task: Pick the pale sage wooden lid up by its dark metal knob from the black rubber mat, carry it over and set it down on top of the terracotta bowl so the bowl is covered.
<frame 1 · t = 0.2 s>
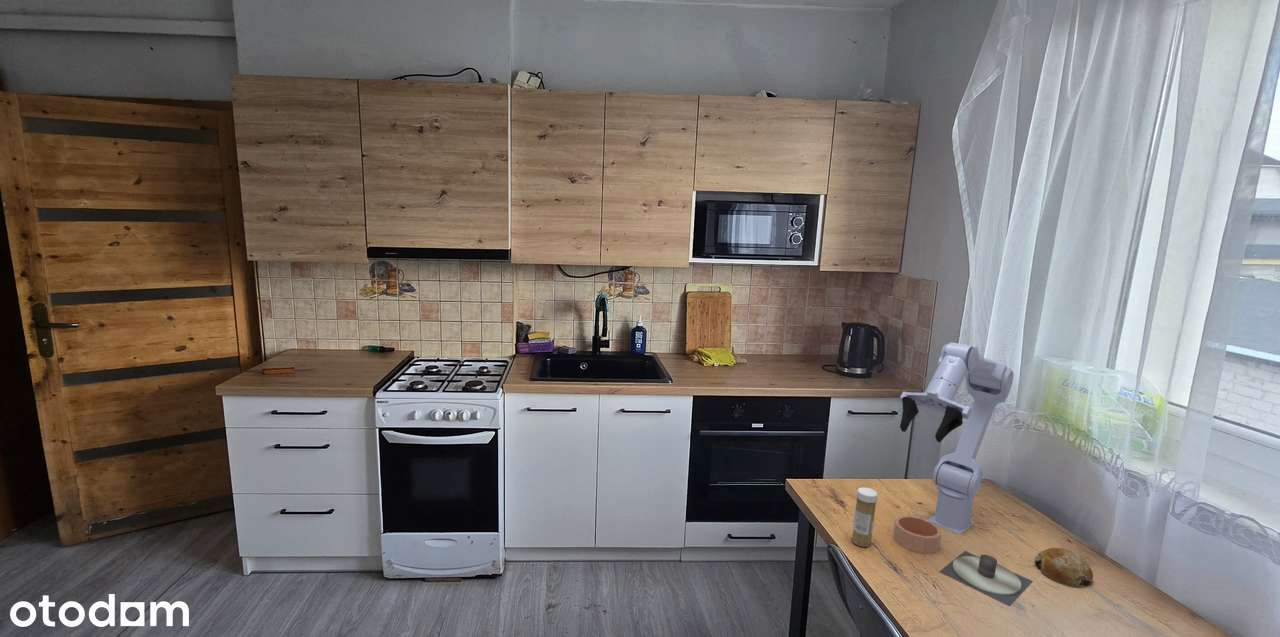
hand: (919, 434, 125), 31 cm above the table, tool tilted 45°, fingers open, 7 cm apart
bowl: (915, 543, 139), on the table
lid: (985, 576, 126), resting on mat
bread roll: (1060, 576, 129), on the table
mat: (985, 578, 126), on the table
sprinkles bottle: (861, 543, 138), on the table
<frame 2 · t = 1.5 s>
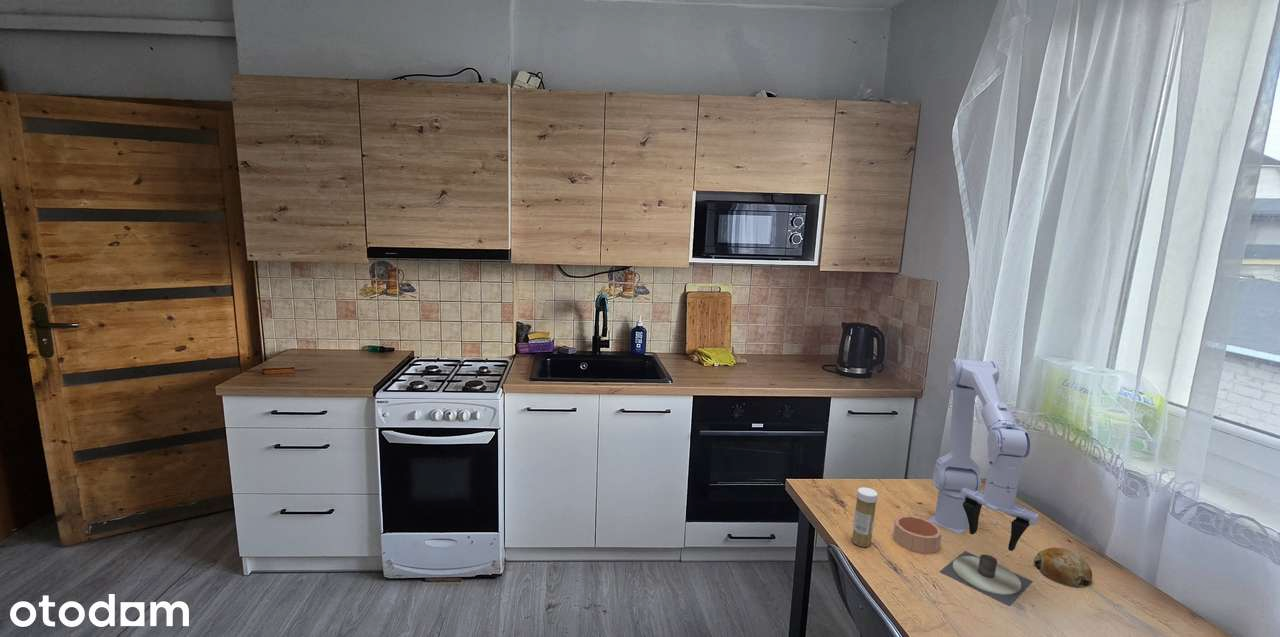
hand: (991, 540, 124), 9 cm above the table, tool pointing down, fingers open, 7 cm apart
nothing on the table moved.
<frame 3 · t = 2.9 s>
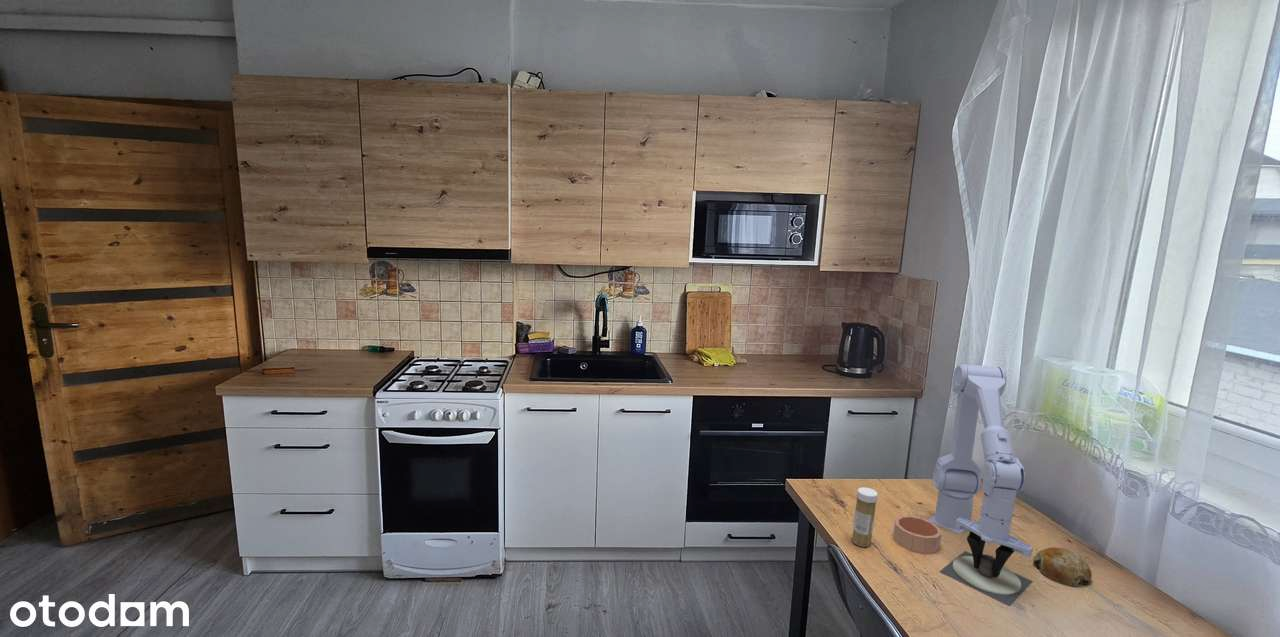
hand: (986, 570, 126), 2 cm above the table, tool pointing down, fingers closed on lid, 3 cm apart
lid: (985, 576, 126), resting on mat, touching gripper
everything else where it was.
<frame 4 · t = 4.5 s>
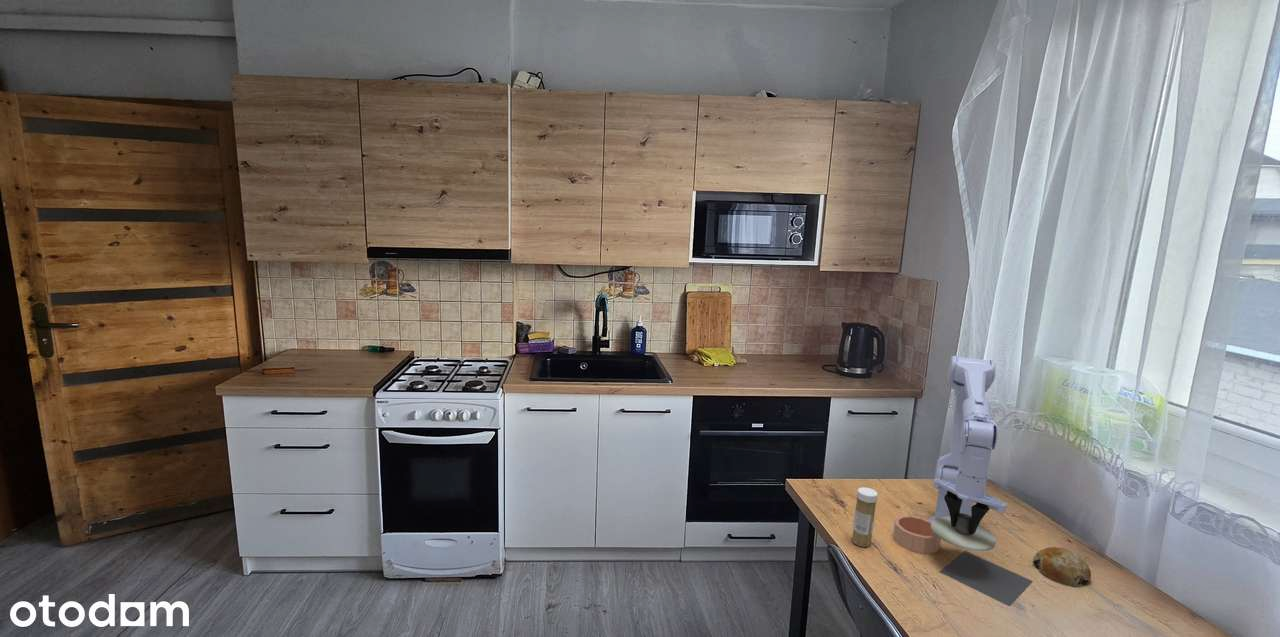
hand: (963, 528, 129), 9 cm above the table, tool pointing down, fingers closed on lid, 3 cm apart
lid: (962, 534, 130), point 8 cm above the table, touching gripper
everything else where it was.
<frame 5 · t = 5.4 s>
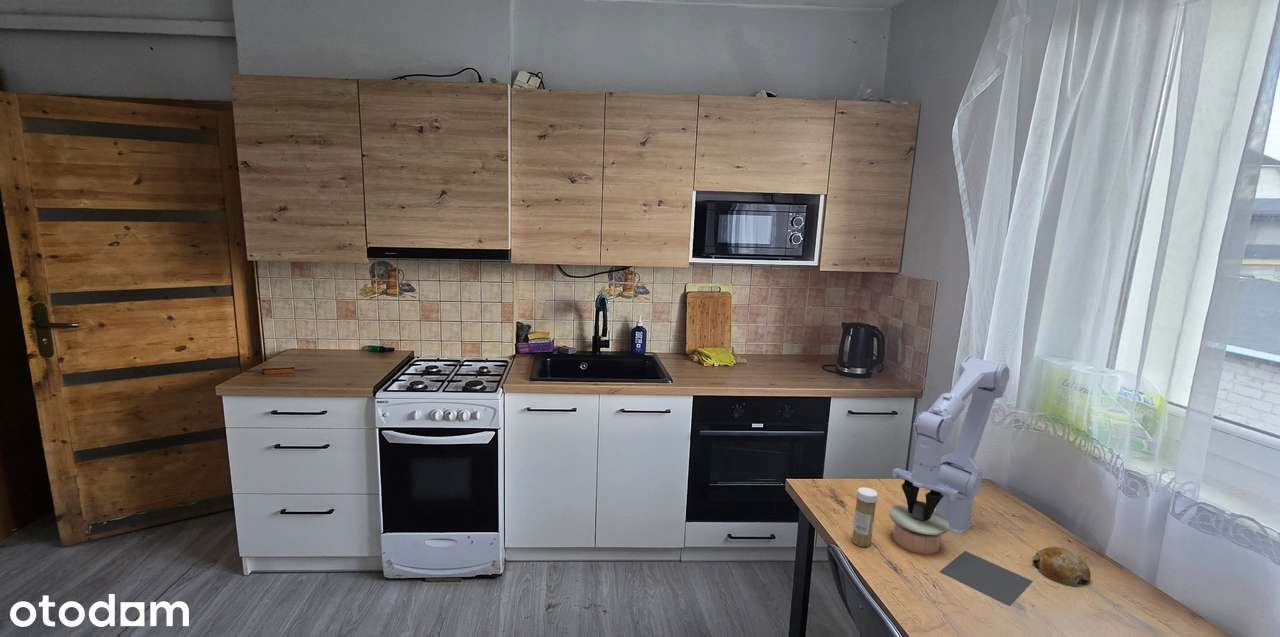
hand: (919, 515, 137), 7 cm above the table, tool pointing down, fingers closed on lid, 3 cm apart
lid: (918, 520, 138), point 6 cm above the table, touching gripper
everything else where it was.
when the fingers open (7 cm above the table, at t = 6.2 s): lid drops 1 cm, resting on bowl.
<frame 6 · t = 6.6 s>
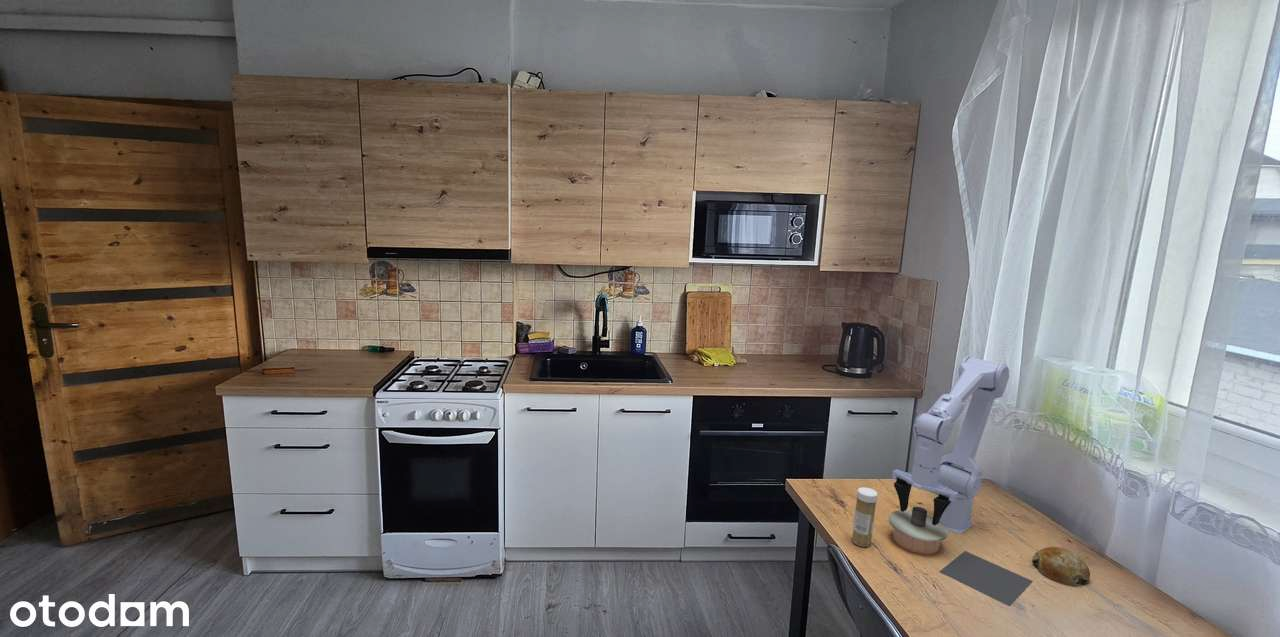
hand: (919, 516, 138), 7 cm above the table, tool pointing down, fingers open, 7 cm apart
bowl: (915, 543, 139), on the table, touching lid
lid: (917, 526, 138), point 4 cm above the table, touching bowl
everything else where it was.
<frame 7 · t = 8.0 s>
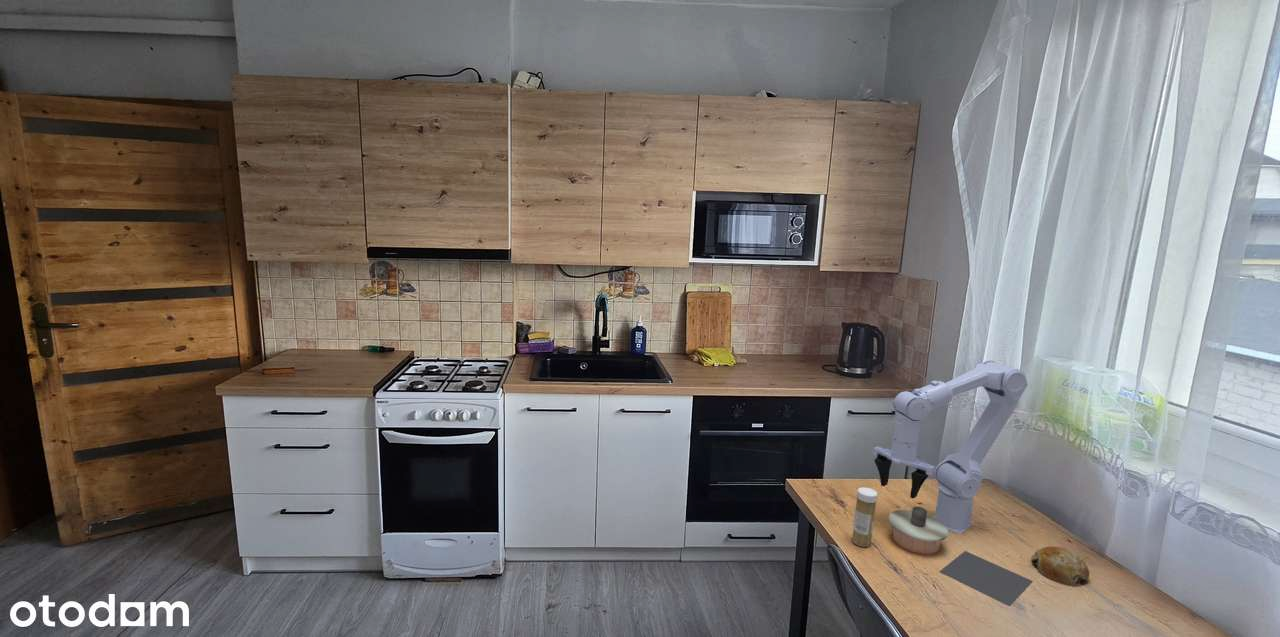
hand: (898, 490, 144), 10 cm above the table, tool pointing down, fingers open, 7 cm apart
nothing on the table moved.
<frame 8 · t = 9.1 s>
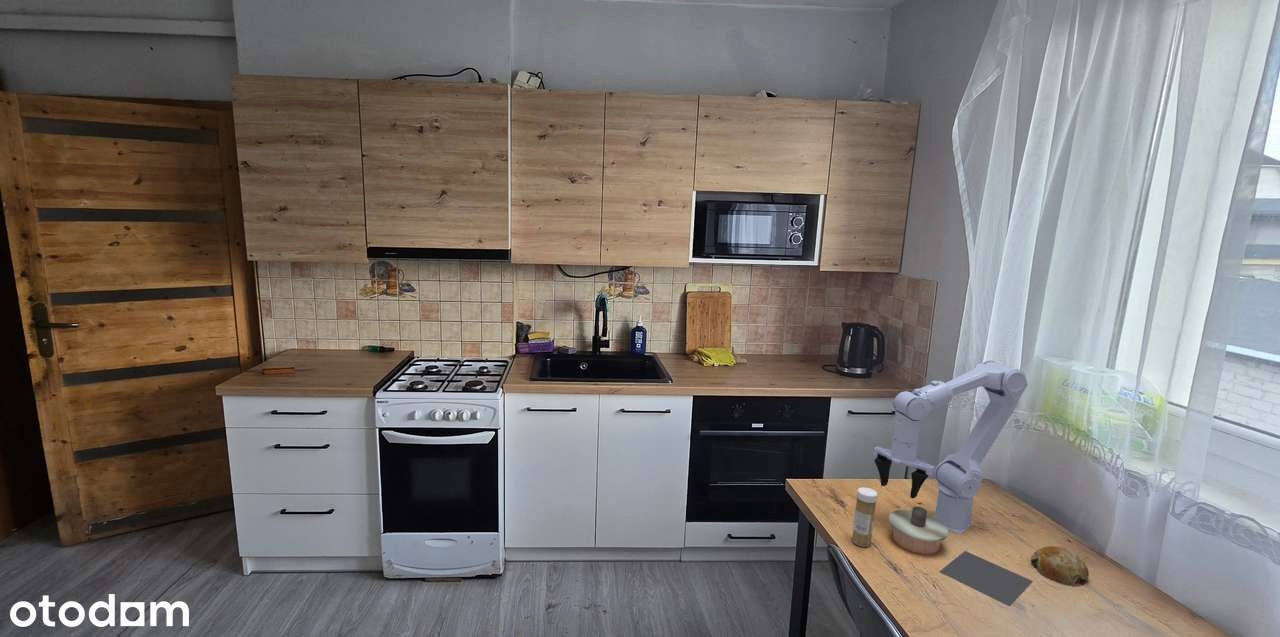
hand: (898, 490, 144), 10 cm above the table, tool pointing down, fingers open, 7 cm apart
nothing on the table moved.
at the end: lid 0.1 cm from the bowl (horizontally); lid 0.1 cm off-centre on the bowl, point 4.5 cm above the bowl's base; the gripper is holding nothing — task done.
